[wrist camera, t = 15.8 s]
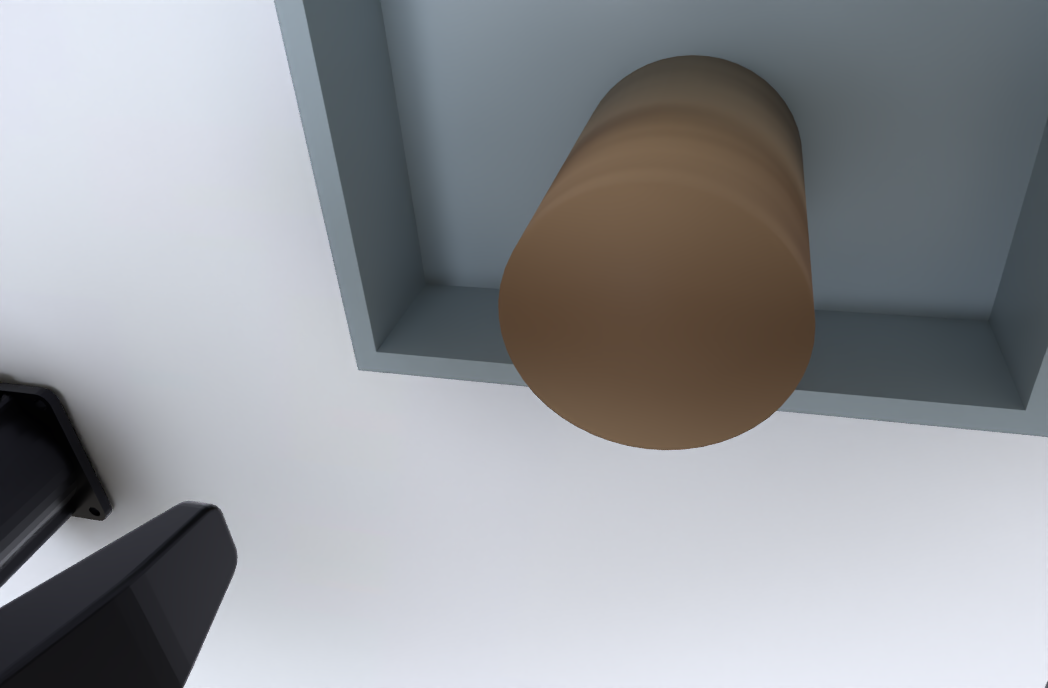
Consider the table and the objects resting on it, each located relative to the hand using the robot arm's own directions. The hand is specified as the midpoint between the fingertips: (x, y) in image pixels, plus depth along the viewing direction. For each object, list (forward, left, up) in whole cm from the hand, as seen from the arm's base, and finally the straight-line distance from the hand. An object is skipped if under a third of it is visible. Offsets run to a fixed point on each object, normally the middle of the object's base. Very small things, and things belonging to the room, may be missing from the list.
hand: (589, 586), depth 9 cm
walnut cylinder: (0, 0, -12) cm, 12 cm away
